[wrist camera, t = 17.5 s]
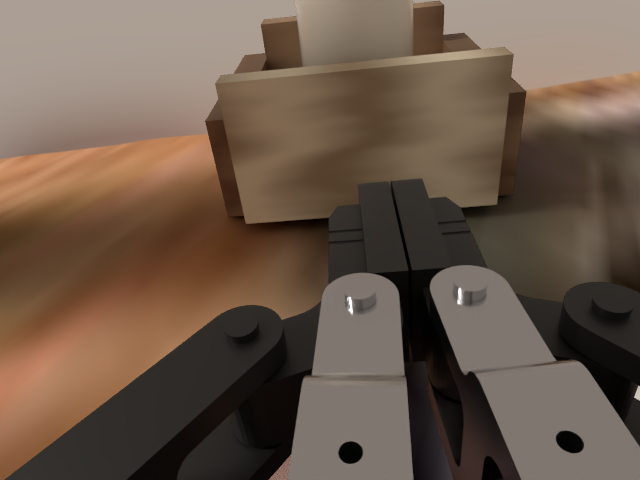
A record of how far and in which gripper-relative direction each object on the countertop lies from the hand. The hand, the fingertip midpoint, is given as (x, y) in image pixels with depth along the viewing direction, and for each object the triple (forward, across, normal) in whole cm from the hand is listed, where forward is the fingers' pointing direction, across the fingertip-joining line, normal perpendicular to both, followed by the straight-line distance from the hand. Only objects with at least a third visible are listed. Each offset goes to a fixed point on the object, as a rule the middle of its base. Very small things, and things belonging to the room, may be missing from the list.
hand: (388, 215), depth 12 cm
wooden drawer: (+15, 0, +6) cm, 16 cm away
